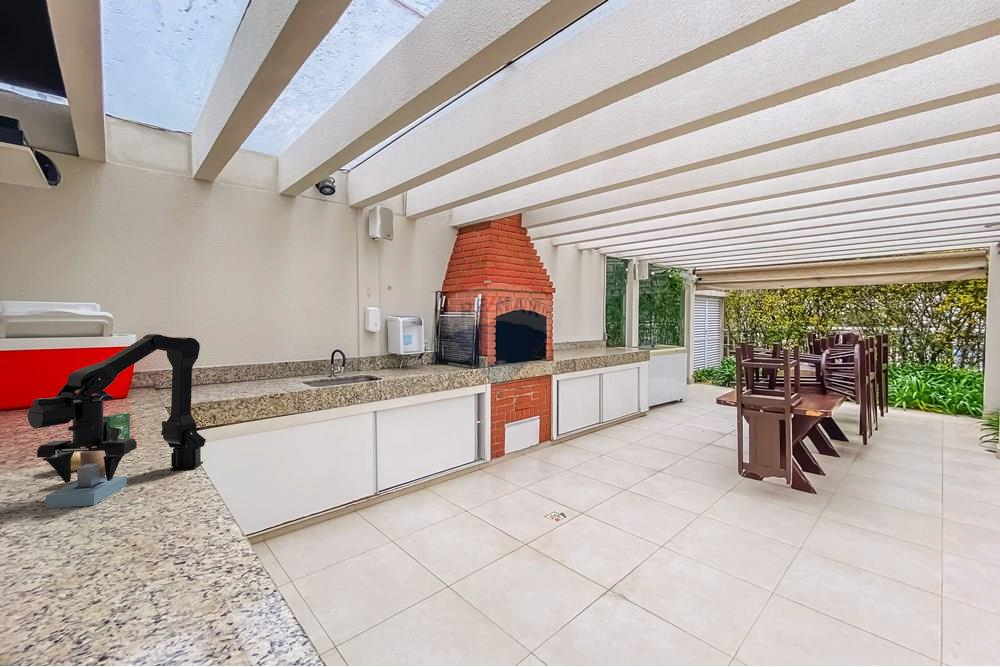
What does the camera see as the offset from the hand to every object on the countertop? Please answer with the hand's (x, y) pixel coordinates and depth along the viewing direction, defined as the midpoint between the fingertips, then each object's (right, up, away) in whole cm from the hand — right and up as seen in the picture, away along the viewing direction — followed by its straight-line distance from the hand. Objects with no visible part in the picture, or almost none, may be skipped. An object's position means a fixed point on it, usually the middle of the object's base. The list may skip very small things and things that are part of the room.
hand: (88, 481), depth 112 cm
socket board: (0, -4, 0) cm, 4 cm away
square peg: (0, -4, 0) cm, 4 cm away
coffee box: (-26, -3, +38) cm, 46 cm away
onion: (-24, -4, +20) cm, 32 cm away
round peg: (-10, -4, +12) cm, 17 cm away
